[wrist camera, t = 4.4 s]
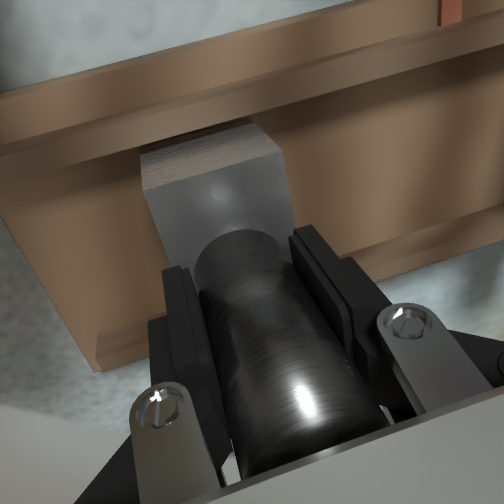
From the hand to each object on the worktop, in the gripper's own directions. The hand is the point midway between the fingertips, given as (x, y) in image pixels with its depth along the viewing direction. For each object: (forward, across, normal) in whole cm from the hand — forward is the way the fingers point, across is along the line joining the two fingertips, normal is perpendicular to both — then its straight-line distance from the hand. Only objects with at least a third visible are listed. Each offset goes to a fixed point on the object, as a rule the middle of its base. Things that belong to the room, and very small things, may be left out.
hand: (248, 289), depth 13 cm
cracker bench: (+7, -4, 0) cm, 9 cm away
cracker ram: (+5, 0, 0) cm, 5 cm away
